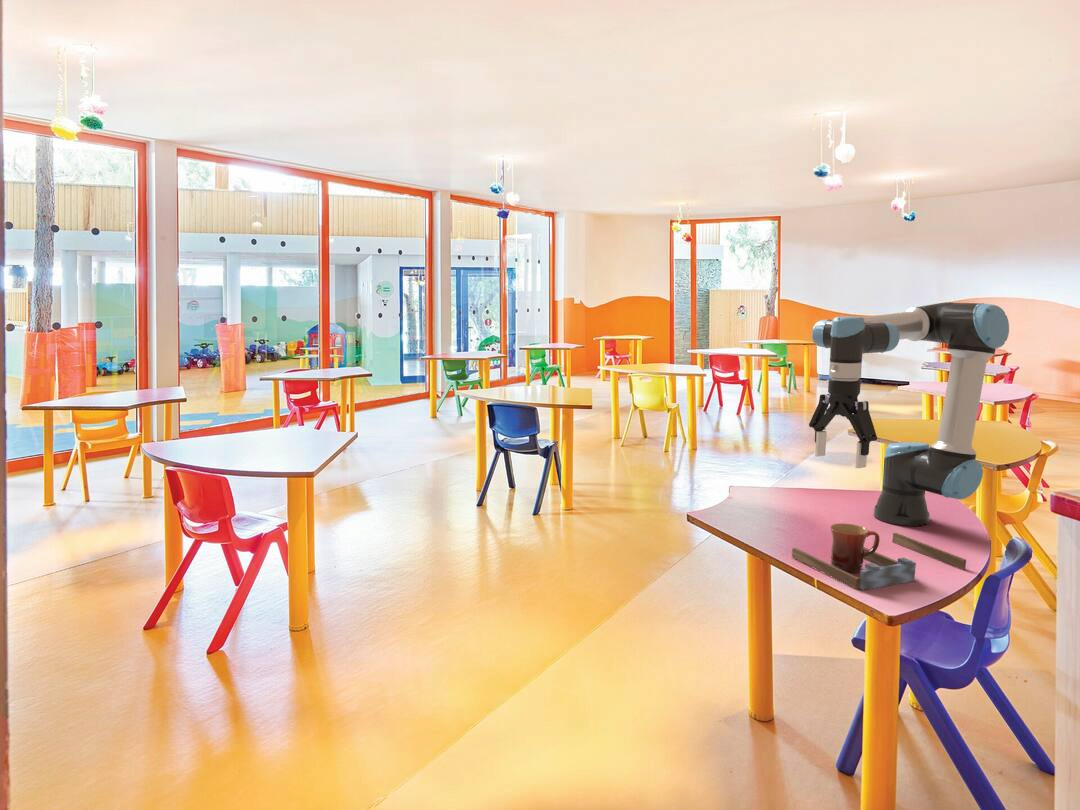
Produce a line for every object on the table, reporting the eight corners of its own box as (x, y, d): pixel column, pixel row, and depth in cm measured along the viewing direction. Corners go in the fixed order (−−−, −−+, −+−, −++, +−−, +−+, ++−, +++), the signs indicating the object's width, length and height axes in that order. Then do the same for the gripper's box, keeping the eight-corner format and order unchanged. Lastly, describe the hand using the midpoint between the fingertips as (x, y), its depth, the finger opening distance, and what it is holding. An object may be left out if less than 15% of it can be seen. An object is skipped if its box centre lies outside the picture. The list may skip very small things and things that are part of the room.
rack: (895, 541, 214) (896, 522, 213) (971, 571, 192) (973, 550, 191) (791, 557, 201) (793, 537, 200) (861, 592, 179) (863, 569, 178)
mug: (835, 575, 189) (838, 534, 187) (821, 562, 198) (824, 523, 196) (884, 575, 189) (888, 534, 188) (868, 562, 198) (871, 523, 196)
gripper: (797, 373, 205) (793, 452, 208) (873, 386, 182) (867, 474, 186) (819, 372, 208) (815, 449, 211) (896, 384, 185) (890, 471, 189)
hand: (839, 461), depth 199 cm, fingers open, 13 cm apart
